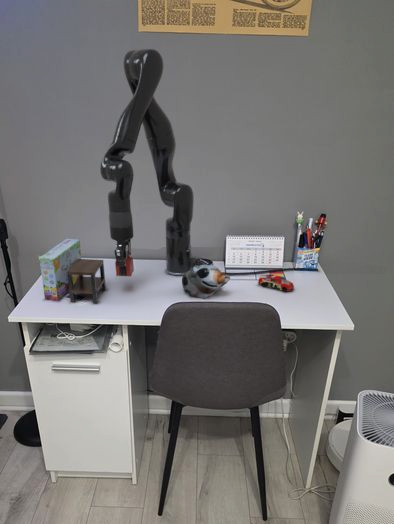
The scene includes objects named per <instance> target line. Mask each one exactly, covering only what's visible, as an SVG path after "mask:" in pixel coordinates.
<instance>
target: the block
mask: <svg viewBox="0 0 394 524" xmlns="http://www.w3.org/2000/svg"><path fill="white" fill-rule="evenodd" d="M120 262H122V260H120ZM114 265H115V275H116V277H121V276H120V271H119V266H117V264H116V261H115V262H114ZM134 270H135V268H134V257H133V256H130V257H127V259H126V273H127V274H126V276H125V277H132V275H133V273H134Z"/></svg>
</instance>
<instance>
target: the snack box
mask: <svg viewBox="0 0 394 524" xmlns="http://www.w3.org/2000/svg"><path fill="white" fill-rule="evenodd" d="M77 259H82V251H81V240H80V239H77V238H75V239H74V238H65V239H64V240H62V241H60V243H58V244H57V245H55V246H54V247H52V248H51V249H50V250H48V251H47V252H46V253H44V254H42V255H41V256H40V257H39V265H40V266H39V267H40V272H41V280H42V287H43V294H44V300H51V301H57V302H58V301H60V300H61V299H62V298H63V297H64V296H65V295H66V294H67V293H68V292H70V291H69V283H68V276H67V271H68V270H69V269H70V268H71V266H72V265H73V264H74V263H75V262H76V261H77ZM72 278H73V285H74V284H75V282H76V281H77V280H78V278H79V275H72Z"/></svg>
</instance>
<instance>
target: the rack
mask: <svg viewBox="0 0 394 524" xmlns="http://www.w3.org/2000/svg"><path fill="white" fill-rule="evenodd" d="M98 271H99V273H100V275H99V276H96V274H97V272H98ZM72 275H79V278H78V280H77V281H76V282H75V284H74V285H73V278H72ZM67 276H68V283H69V291H68V292H69V297H70V303H76V295H75V294H89V295H92V300H93V304H98V303H99V299H98V292H99V290H100V289H101V291H106V290H107V286H106V285H107V284H106V273H105V262H104V259H91V258H90V259H89V258H81V259H77V261H76V262H75V263H74V264H73V265H72V266H71V268H70V269H69V270H68V271H67Z"/></svg>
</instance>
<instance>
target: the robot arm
mask: <svg viewBox="0 0 394 524" xmlns="http://www.w3.org/2000/svg"><path fill="white" fill-rule="evenodd" d="M164 66H165V65H164V59H163V56H162V54H161V53H160V52H159V51H158V50H157V49H155V48H136V49H135V48H134V49H130V50H128V51H127V52H125V54H124V57H123V71H124V75H125V78H126V81H127V83H128V84H127V85H128V86H129V89H130V91H131V94H132V96H131V99H130V101H129V102H128V104H127V105H126V107H125V108H124V109H123V111H122V112H121V114H120V115H119V117H118V120H117V123H116V126H115V130H114V134H113V137H112V141H111V143H110V145H109V146H108V148H107V149H106V151H105V154H104V155H103V157H102V159H101V161H100V164H99V165H100V167H99V168H100V169H99V171H100V176H101V178H102V179H103V180H104V181H106V182H109V183H115V189H113V190H110V191H109V192H108V193H107V205H108V223H109V233H110V234H109V235H110V239H111V240H113V241H115V242H116V244H115V249H114V251H113V252H114V258H115V262H116V264H117V266H119V271H120V276H119V277H127V276H126V274H127V273H126V259H127V257H131V255H132V244H131V243H132V241H131V240H132V239H133V238H134V223H133V214H132V209H131V193H132V188H133V183H134V177H135V176H134V175H135V174H134V169H133V166H132V164H131V163H130V161H128V160H125V159H124V157H125V156H128V155H132V154H133V153H134V151H135V149H136V145H137V142H138V139H139V135H140V130H141V127H143V132H144V135H145V139H146V143H147V146H148V149H149V153H150V156H151V160H152V163H153V167H154V168H153V169H154V171H155V175H156V181H157V187H158V192H159V197H160V200H161V202H162V204H163V205H164V206H166V207H167V208H171V209H172V210H173V211H172V212H173V213H172V216H171V217H168V218H167V219H166V220H165V263H166V267H165V268H166V269H165V270H166V273H167V274H169V275H170V276H171V275H172V276H183V275H184V274H185V273H186V272H188V271H191V270H192V268H193V267H194V266H195V267H197V266H200V265H204V264H202V263H200V262H197V258H196V257H192V245H191V225H192V221H193V217H194V203H195V202H194V196H195V195H194V191H193V188H192V187H191V186H190V184H187V183H183V182H178V181H177V179H176V175H175V171H174V167H173V165H174V164H173V162H174V157H175V153H176V148H177V147H176V146H177V144H176V137H175V134H174V129H173V126H172V123H171V120H170V119H169V117H168V115H167V114H166V112H165V111H164V110H163V108H162V107H161V106H160V104H159V103H158V101H157V100H156V97H155V93H156V91H157V89H158V87H159V84H160V82H161V80H162V77H163V73H164ZM120 260H122V262H120ZM196 265H197V266H196ZM283 271H315V272H318V271H319V268H313V267H287V268H286V267H285V268H276V269H275V268H274V269H266V270H257V271H247V272H246V271H244V272H226V271H221V273H225V275H228V276H240V275H241V276H242V275H255V274H265V273H272V272H274V273H275V272H283Z"/></svg>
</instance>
